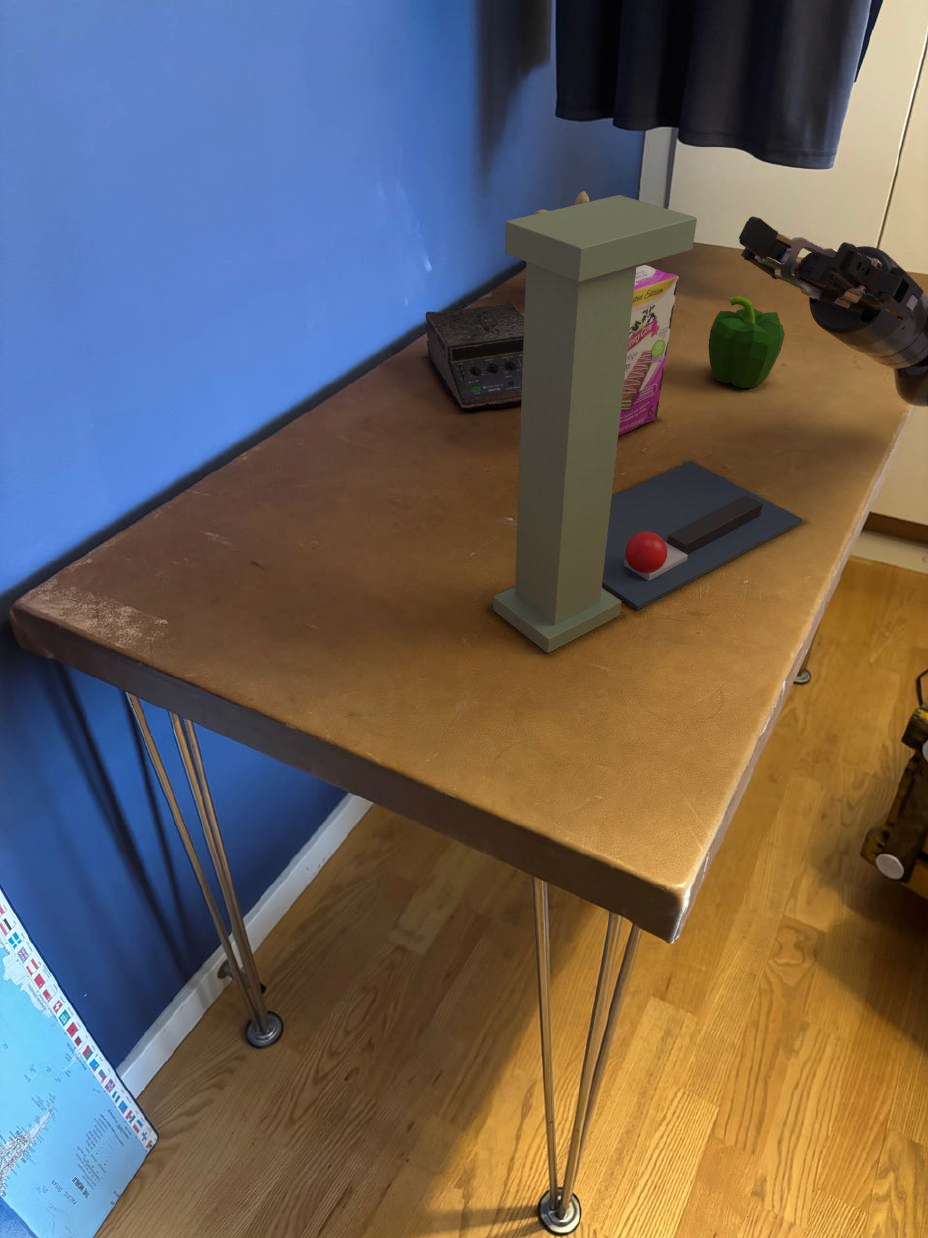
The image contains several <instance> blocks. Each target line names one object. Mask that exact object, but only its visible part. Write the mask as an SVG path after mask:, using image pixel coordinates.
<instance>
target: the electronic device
mask: <svg viewBox="0 0 928 1238" xmlns="http://www.w3.org/2000/svg"><path fill="white" fill-rule="evenodd" d="M524 316H525V315H524V314H522V313H521V311H520V310H519V309H518V308H517V307H516V306H515V304H514V303H513V302H512V301H508V302H507V303H501V304H494V305H484V306H482V305H481V306H476V307H469V308H465V309H464V308H463V309H456V310H455V309H453V310H452V309H451V310H445V311H426V312H425V321H426V324H425V329H426V336H427V337H426V338H427V341H426V346H427V354H428V355H429V357H430V360H431V362H432V364H433V368H434V370H435V372H436V374H437V375H438V377H439V379H440V381H441V384H442V385H444V388H445V390H446V392H447V394H448V395H449V396H450V397H451V398H452V401H453V402H454V403H456V404H457V405H458V406H459V407H460V408H461V409H462V410H465V411H474V410H479V409H480V410H487V409H500V408H501V409H503V408H509V407H513V406H514V407H515V406H519V405H521V403H522V374H523V345H524Z"/></svg>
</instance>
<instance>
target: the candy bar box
mask: <svg viewBox="0 0 928 1238" xmlns="http://www.w3.org/2000/svg"><path fill="white" fill-rule="evenodd" d="M679 277H680V276H678V275H676V274H674V273H671V272H668V271H665V270H663V269H659V268H655V267H652V266H650V265H647V264H642V265H639V266H637V267H636V276H635V286H634V295H633V304H632V313H631V322H630V332H629V341H628V350H627V359H626V368H625V378H624V387H623V396H622V405H621V414H620V424H619V433H618V437H620V436H622V435H624V434H626V433H629V432H631V431H633V430H635V429H637V428H640V427H642V426H645V425H647V424H649V423H651V422H654V421H656V420H657V419H658V418H657V417H658V410H659V406H660V405H659V404H660V399H661V398H660V397H661V392H662V385H663V378H664V372H665V366H666V359H667V352H668V347H669V346H668V345H669V340H670V334H671V327H672V322H673V321H672V320H673V314H674V307H675V301H676V295H677V290H678V282H679Z"/></svg>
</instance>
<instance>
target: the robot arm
mask: <svg viewBox="0 0 928 1238" xmlns="http://www.w3.org/2000/svg"><path fill="white" fill-rule="evenodd" d="M738 239H739V241H738V242H739V244H740V245H741V246H742V247H744V249H743V250H742V252H741V254H740V256H741V258H743V260H745V261H747V262H750V263H751V264H753V265H755V267H757V268H758V269H760V270H761V271H763V272H764V273H765V274H767V275H769V276H770V277H771V279H774V280H782V281H784V282H786V283H788V284H790V285H792V286H794V287H796V288H798V289H799V290H800V293H802V294H803V295H805V296H807V297H808V302H809V310H810V313H811V316H812V318H813V320H814V321H815V323H816V324H817V325H818V326H819V327H820V328H821V329H823V330H824V331H825V332H826V333H829V334H830V335H831V336H832V337H834V338H835V339H837V340H838V341H840V342H842V344H845V345H846V346H847V347H849V348H850V349H852V350H854V351H856V352H859V353H862V354H864V355H866V356H867V357H869V358H870V359H871V360H873V361H874V362H876V363H878V364H879V365H882V366H884V367H887V368H890V369H893V377H894V378H893V379H894V384H895V385H894V386H895V390H896V392H897V394H898V396H899V397H900V399H901V400H903V402H905V403H907V404H909V405H911V406H914V407H919V408H927V407H928V295H926V293H924V290H923V288H922V287H920V286H919V284H918V282H917V281H916V280H915V279H914V278H913V277H912V276H911V275H910V274H909V273H908V272H907V271H905V269H904V268H903V267H902V266H901V265H900V264H898V263H897V261H896V260H894V259H893V258H892V257H891V256H890V255H889V254H888V253H886V252H885V251H884V250H882V249H879V248H877V247H875V246H869V245H867V246H866V245H862V246H856V245H855V244H853V243H849V242H845V241H844V242H842V243H841V244H840V245H839V247H838V249H837V250H836V249H834V248H832V247H830V248H829V247H828V248H825V247H824V246H821V245H819V244H817V243H815V242H813V241H811V240H809V239H807V238H805V237H800V236H799V237H793V238H790V237H788V236H786V235H784V234H782V233H780V232H779V230H776V229H774V228H773V227H772V226H771V225H769V224H768V223H767V222H766V221H764V220H763V219H762V218H761V217H757V216H753V215H752V216H750V217H749V218H748V220H746V222H745V224H744V226H743V228H742V230H741V232H740V234H739V236H738ZM803 249H804V250H806V251H808V252H809V253H807V254H806V255H805V256H804V257H803V258H801V260H800V261H798V260H797V258H798V257H799V255H800V253H801V251H802V250H803Z"/></svg>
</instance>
